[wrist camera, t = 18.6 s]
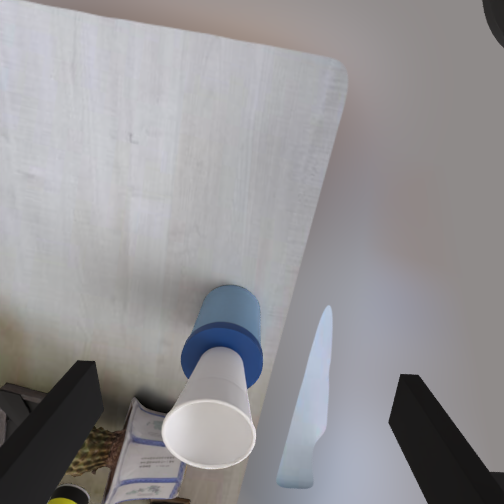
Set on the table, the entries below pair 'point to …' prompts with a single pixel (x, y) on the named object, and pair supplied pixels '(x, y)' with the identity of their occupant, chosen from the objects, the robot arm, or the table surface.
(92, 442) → the potted plant
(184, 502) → the figurine
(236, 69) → the table surface
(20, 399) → the picture frame
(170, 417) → the cup
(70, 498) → the flashlight
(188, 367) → the blue lidded canister
